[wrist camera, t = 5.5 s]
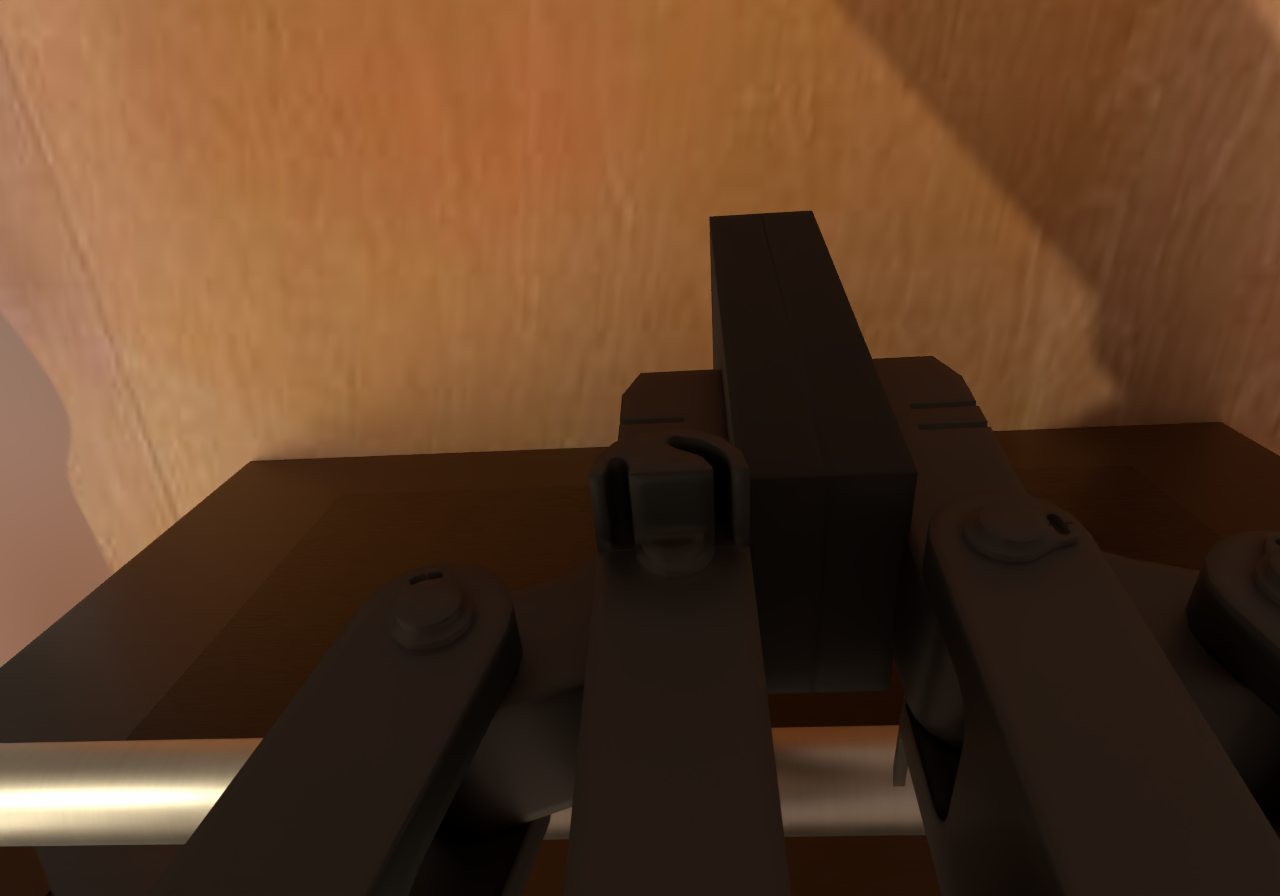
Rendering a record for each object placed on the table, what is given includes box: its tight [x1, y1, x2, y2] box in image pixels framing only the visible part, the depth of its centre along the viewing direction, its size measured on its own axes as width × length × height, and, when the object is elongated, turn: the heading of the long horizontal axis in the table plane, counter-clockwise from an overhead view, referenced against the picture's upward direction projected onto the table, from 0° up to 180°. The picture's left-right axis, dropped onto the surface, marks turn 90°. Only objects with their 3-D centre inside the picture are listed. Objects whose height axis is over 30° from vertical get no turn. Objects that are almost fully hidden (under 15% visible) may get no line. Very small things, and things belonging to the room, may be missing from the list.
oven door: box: [0, 422, 1280, 896], centre depth 24 cm, size 5×40×26 cm, turn 94°
